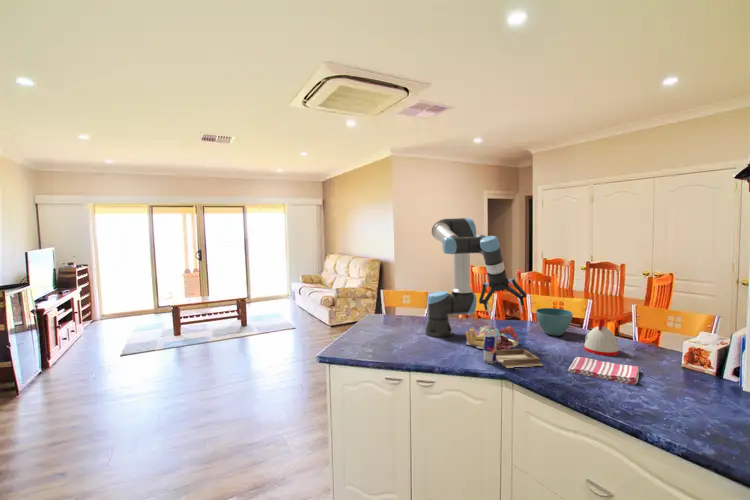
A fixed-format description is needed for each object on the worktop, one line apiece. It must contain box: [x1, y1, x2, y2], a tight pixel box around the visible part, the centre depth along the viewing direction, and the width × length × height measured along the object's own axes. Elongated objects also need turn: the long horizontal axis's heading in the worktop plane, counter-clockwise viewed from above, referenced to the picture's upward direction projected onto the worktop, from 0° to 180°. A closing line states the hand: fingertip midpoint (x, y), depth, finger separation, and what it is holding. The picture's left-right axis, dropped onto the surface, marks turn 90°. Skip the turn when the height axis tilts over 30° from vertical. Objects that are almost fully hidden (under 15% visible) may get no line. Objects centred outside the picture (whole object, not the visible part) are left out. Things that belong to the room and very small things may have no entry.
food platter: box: [464, 324, 519, 350], centre depth 188 cm, size 25×24×9 cm
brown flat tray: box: [496, 348, 544, 369], centre depth 164 cm, size 18×16×3 cm
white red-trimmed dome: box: [584, 318, 620, 357], centre depth 174 cm, size 14×14×15 cm
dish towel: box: [567, 356, 640, 386], centre depth 149 cm, size 17×23×4 cm
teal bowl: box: [535, 307, 574, 337], centre depth 203 cm, size 18×18×12 cm
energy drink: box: [483, 334, 497, 365], centre depth 163 cm, size 5×5×12 cm
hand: (505, 313), depth 166 cm, fingers open, 13 cm apart
